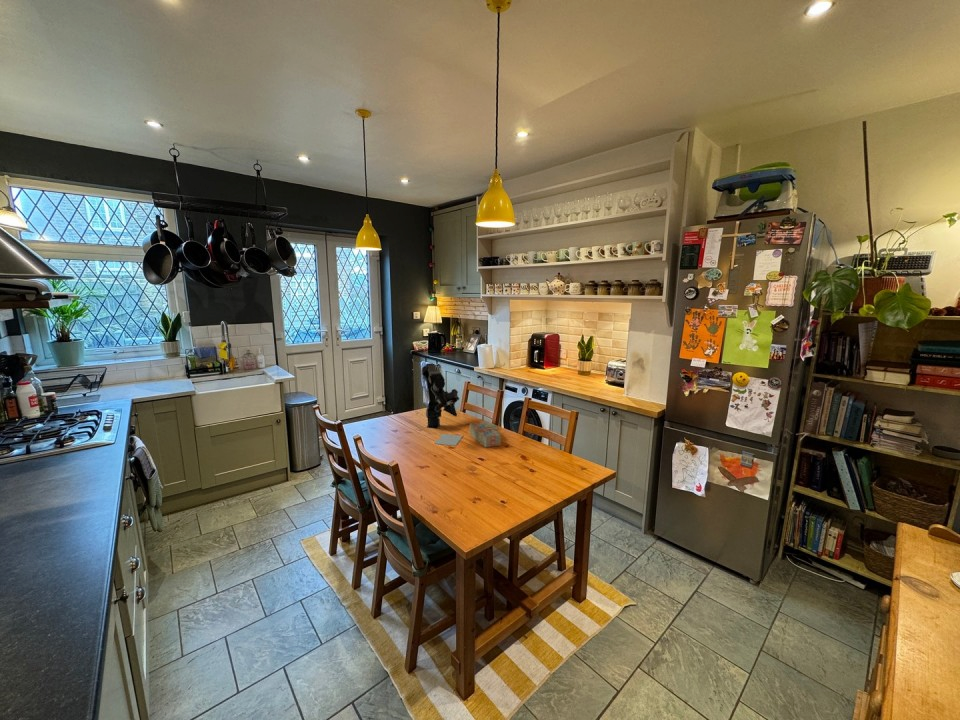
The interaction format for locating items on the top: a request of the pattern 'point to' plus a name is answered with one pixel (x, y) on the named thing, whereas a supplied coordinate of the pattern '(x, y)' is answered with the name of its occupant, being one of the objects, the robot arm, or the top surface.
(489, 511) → the top surface
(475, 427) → the stack of blocks
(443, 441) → the grey rubber mat
